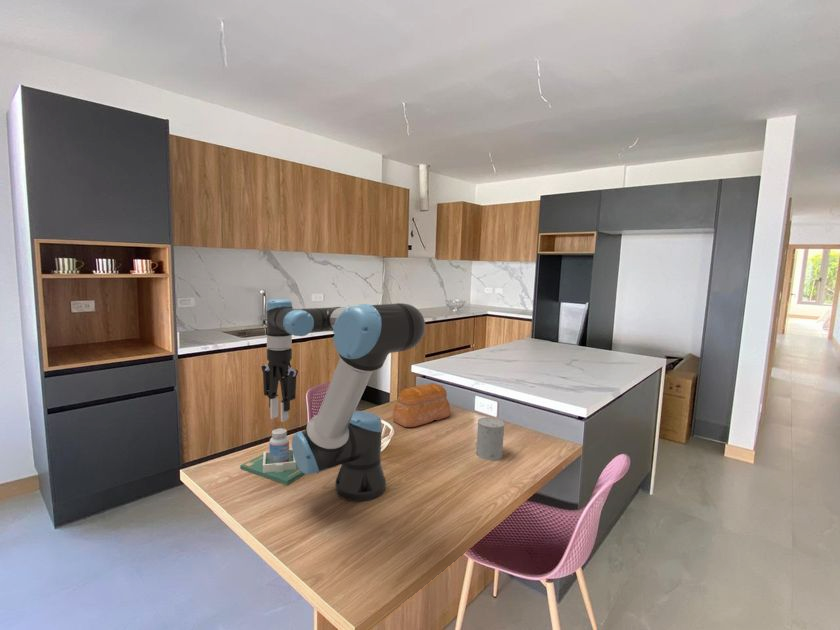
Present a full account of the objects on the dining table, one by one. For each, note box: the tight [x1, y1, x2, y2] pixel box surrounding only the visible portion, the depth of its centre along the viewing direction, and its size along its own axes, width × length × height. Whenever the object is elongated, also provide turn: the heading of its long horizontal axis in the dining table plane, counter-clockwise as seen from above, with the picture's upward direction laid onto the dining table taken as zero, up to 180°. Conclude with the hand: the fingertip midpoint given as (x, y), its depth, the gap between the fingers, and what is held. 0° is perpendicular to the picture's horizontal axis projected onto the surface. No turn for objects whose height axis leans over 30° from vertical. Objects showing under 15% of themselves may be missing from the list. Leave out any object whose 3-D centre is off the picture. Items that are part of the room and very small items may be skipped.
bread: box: [392, 382, 451, 428], centre depth 187 cm, size 14×26×15 cm, turn 131°
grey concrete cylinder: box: [475, 417, 505, 461], centre depth 154 cm, size 10×10×12 cm
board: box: [240, 448, 306, 486], centre depth 139 cm, size 20×14×4 cm
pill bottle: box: [268, 428, 290, 464], centre depth 138 cm, size 6×6×11 cm
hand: (279, 418), depth 137 cm, fingers open, 4 cm apart
